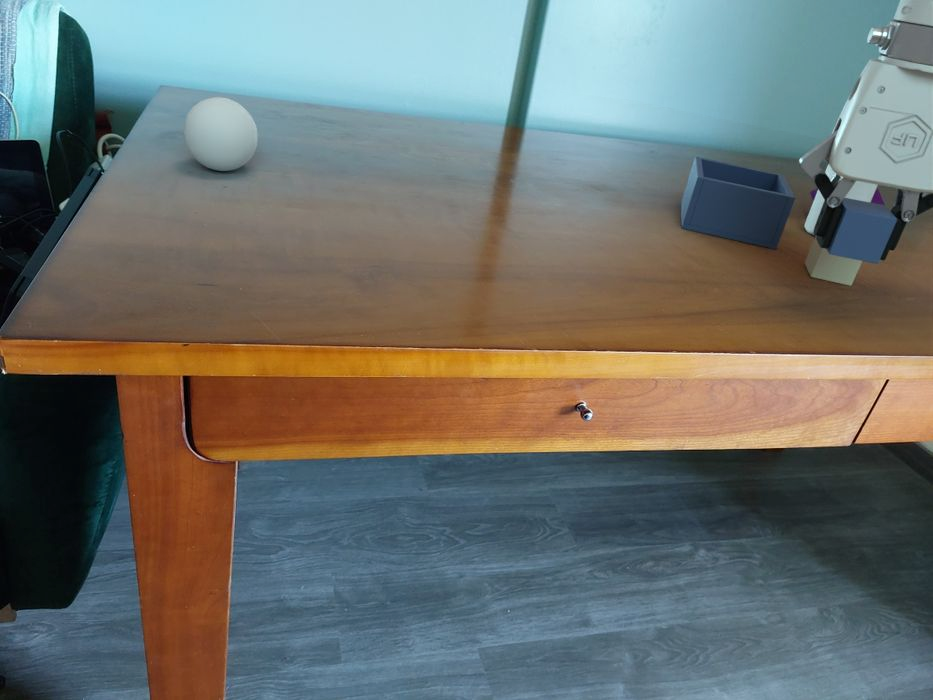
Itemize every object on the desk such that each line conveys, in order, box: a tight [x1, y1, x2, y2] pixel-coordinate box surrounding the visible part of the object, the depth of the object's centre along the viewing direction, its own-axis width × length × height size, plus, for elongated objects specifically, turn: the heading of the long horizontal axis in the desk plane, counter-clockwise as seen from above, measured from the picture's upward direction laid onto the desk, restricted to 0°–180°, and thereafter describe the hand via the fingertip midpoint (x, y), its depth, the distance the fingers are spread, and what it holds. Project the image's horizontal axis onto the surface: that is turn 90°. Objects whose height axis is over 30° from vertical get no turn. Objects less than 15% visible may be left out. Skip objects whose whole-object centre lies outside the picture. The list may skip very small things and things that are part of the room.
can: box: [804, 163, 879, 237], centre depth 96 cm, size 6×6×12 cm
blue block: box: [826, 198, 897, 265], centre depth 70 cm, size 4×4×4 cm
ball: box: [182, 96, 259, 172], centre depth 82 cm, size 8×8×8 cm
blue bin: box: [680, 156, 796, 250], centre depth 94 cm, size 12×12×7 cm
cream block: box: [804, 236, 863, 287], centre depth 83 cm, size 4×4×4 cm
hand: (850, 247), depth 71 cm, fingers closed on blue block, 4 cm apart
